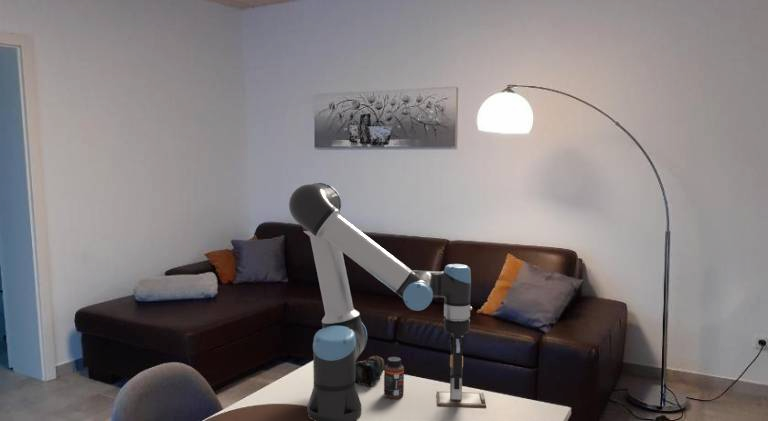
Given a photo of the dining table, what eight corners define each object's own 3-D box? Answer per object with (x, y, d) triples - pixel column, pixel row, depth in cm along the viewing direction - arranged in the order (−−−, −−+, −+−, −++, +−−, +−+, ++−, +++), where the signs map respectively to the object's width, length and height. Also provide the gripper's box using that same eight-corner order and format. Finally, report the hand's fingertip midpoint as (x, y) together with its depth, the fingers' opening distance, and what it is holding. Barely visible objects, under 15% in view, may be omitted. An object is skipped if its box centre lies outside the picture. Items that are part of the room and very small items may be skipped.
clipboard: (437, 405, 167) (437, 400, 167) (436, 393, 176) (436, 388, 176) (486, 407, 166) (486, 402, 166) (482, 394, 175) (482, 390, 175)
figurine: (343, 366, 182) (370, 348, 195) (351, 390, 183) (377, 371, 195) (365, 364, 178) (390, 346, 190) (372, 389, 178) (397, 369, 190)
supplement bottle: (401, 400, 171) (402, 363, 170) (382, 398, 172) (382, 361, 171) (405, 392, 177) (405, 356, 176) (386, 390, 178) (386, 354, 177)
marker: (449, 401, 168) (450, 358, 167) (449, 396, 171) (449, 353, 170) (462, 402, 167) (463, 358, 166) (461, 396, 171) (462, 354, 170)
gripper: (472, 326, 159) (471, 408, 161) (467, 310, 175) (466, 385, 177) (445, 325, 159) (444, 407, 161) (442, 310, 176) (441, 384, 178)
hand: (455, 395), depth 169 cm, fingers closed on marker, 3 cm apart
